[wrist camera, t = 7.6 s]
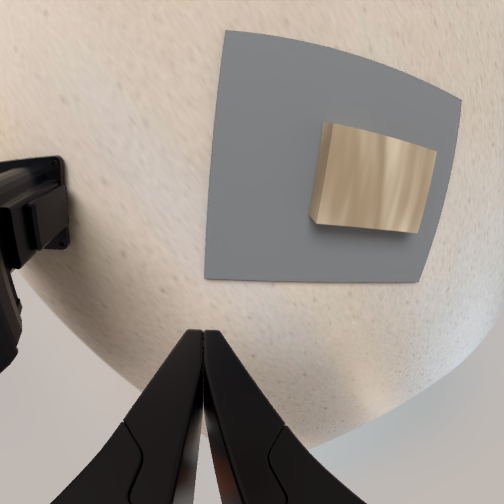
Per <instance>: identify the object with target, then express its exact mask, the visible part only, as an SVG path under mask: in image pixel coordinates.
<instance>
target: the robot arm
mask: <svg viewBox="0 0 504 504" xmlns="http://www.w3.org/2000/svg"><path fill="white" fill-rule="evenodd" d="M55 160H56V161H57V166H55V165H54V161H55ZM68 224H69V218H68V208H67V196H66V188H65V186H64V174H63V159H62V158H61V157H60V156H58V155H55V156H44V157H34V158H25V159H16V160H9V161H1V162H0V373H1V372H2V371H3V370H4V369H6V368H7V367H8V366H9V365H10V364H11V362H12V361H13V360H14V358H15V357H16V355H17V353H18V349H17V347H16V346H17V344H18V341H19V338H20V335H21V332H22V319H21V316H20V314H21V310H22V305H21V302H20V299H19V298H18V297H17V294H16V291H15V288H14V284H13V281H12V277H11V273H12V272H13V270H15V269H20V268H21V267H22V266H23V265H24V264H25V263H26V262H27V261H28V260H29V259H30V258H31V257H32V256H33V255H34V254H35V253H36V252H37V251H41V250H42V249H59V250H64V249H66V248H67V247H68V246H69V244H70V239H69V232H68ZM61 240H63V241H64V243H65V244H63V243H62V242H61ZM203 402H204V414H205V420H206V426H207V432H208V438H209V443H210V448H211V454H212V459H213V464H214V469H215V474H216V478H217V483H218V487H219V492H220V496H221V501H222V504H367V503H365V502H364V501H363V500H361V499H360V498H359V497H358V496H357V495H355V494H354V493H353V492H352V491H351V490H349V489H348V488H347V487H346V486H345V485H344V484H342V483H341V482H340V481H339V480H338V479H337V478H336V477H334V476H333V475H332V474H331V473H330V472H329V471H328V470H327V469H325V467H323V466H322V465H321V464H320V463H319V462H318V461H317V460H316V459H315V458H314V457H313V456H312V455H311V454H310V453H309V451H308V450H307V449H306V448H305V447H304V446H303V445H302V443H301V442H300V441H299V440H298V439H297V437H296V436H295V435H294V434H293V432H292V431H291V430H290V428H289V427H288V426H285V422H284V421H283V420H282V418H281V417H280V416H279V414H278V413H277V412H276V410H275V409H274V408H273V406H272V405H271V404H270V402H269V401H268V399H267V398H266V397H265V395H264V394H263V393H262V391H261V390H260V388H259V387H258V386H257V384H256V383H255V382H254V380H253V379H252V377H251V376H250V374H249V373H248V372H247V370H246V369H245V367H244V366H243V364H242V363H241V362H240V360H239V359H238V357H237V356H236V354H235V353H234V351H233V350H232V348H231V347H230V345H229V344H228V342H227V341H226V339H225V338H224V336H223V335H222V333H221V332H220V331H218V330H205V331H204V332H203V331H202V330H196V329H188V330H186V332H185V333H184V334H183V336H182V337H181V339H180V340H179V341H178V343H177V344H176V346H175V347H174V348H173V350H172V351H171V353H170V354H169V355H168V357H167V358H166V360H165V361H164V362H163V364H162V365H161V367H160V368H159V370H158V371H157V372H156V374H155V375H154V377H153V378H152V379H151V381H150V382H149V384H148V385H147V387H146V388H145V389H144V391H143V392H142V394H141V395H140V396H139V398H138V399H137V401H136V402H135V404H134V405H133V406H132V408H131V409H130V411H129V412H128V414H127V415H126V417H125V418H124V419H123V421H124V422H121V423H120V425H119V426H118V428H117V429H116V430H115V432H114V433H113V435H112V436H111V437H110V439H109V440H108V441H107V443H106V444H105V445H104V447H103V448H102V449H101V451H100V452H99V453H98V454H97V455H96V456H95V457H94V458H93V459H92V461H91V462H90V463H89V464H88V465H87V466H86V467H85V468H84V469H83V470H82V472H81V473H80V474H79V475H78V476H77V477H76V478H75V479H74V480H73V481H72V482H71V483H70V484H69V485H68V486H67V487H66V488H65V489H64V490H63V491H62V492H61V494H60V495H59V496H57V497H56V498H55V500H53V501H52V502H51V503H50V504H193V500H194V489H195V479H196V469H197V460H198V451H199V441H200V433H201V425H202V416H203Z"/></svg>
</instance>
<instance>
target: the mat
mask: <svg viewBox="0 0 504 504" xmlns="http://www.w3.org/2000/svg"><path fill="white" fill-rule="evenodd" d="M461 102H462V100H461V99H459V98H457V97H455V96H453V95H451V94H450V93H448V92H446V91H444V90H442V89H440V88H438V87H436V86H433V85H431V84H429V83H427V82H425V81H423V80H421V79H418V78H416V77H414V76H411V75H409V74H407V73H404V72H402V71H399V70H397V69H394V68H392V67H389V66H386V65H384V64H381V63H378V62H375V61H372V60H369V59H366V58H363V57H360V56H357V55H354V54H351V53H347V52H344V51H340V50H337V49H333V48H329V47H325V46H321V45H317V44H313V43H308V42H304V41H299V40H294V39H289V38H283V37H277V36H271V35H265V34H257V33H249V32H240V31H229V30H225V37H224V45H223V52H222V60H221V68H220V76H219V84H218V93H217V102H216V112H215V122H214V132H213V143H212V155H211V167H210V180H209V194H208V210H207V227H206V247H205V271H204V278H205V279H230V280H261V281H304V282H419V279H420V277H421V274H422V271H423V269H424V266H425V263H426V260H427V257H428V254H429V251H430V248H431V245H432V242H433V239H434V236H435V233H436V229H437V226H438V222H439V219H440V215H441V212H442V208H443V204H444V200H445V196H446V192H447V188H448V183H449V179H450V174H451V170H452V165H453V159H454V154H455V148H456V142H457V135H458V128H459V121H460V112H461ZM323 122H326V123H335V124H340V125H344V126H349V127H353V128H358V129H362V130H366V131H370V132H374V133H378V134H381V135H385V136H389V137H392V138H396V139H399V140H403V141H406V142H409V143H412V144H416V145H419V146H422V147H425V148H428V149H431V150H434V151H437V154H436V159H435V165H434V170H433V174H432V179H431V184H430V188H429V192H428V196H427V201H426V205H425V208H424V212H423V216H422V220H421V223H420V227H419V230H418V233H409V232H400V231H391V230H381V229H371V228H360V227H350V226H338V225H327V224H316V223H315V221H314V220H313V219H312V218H311V217H310V216H309V210H310V204H311V199H312V193H313V187H314V181H315V175H316V168H317V162H318V155H319V149H320V142H321V135H322V128H323Z"/></svg>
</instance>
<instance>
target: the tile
mask: <svg viewBox="0 0 504 504" xmlns="http://www.w3.org/2000/svg"><path fill="white" fill-rule="evenodd" d="M436 154H437V151H434V150H431V149H428V148H425V147H422V146H419V145H416V144H412V143H409V142H406V141H403V140H399V139H396V138H392V137H389V136H385V135H381V134H378V133H374V132H370V131H366V130H362V129H358V128H353V127H349V126H344V125H340V124H335V123H326V122H323V128H322V135H321V142H320V149H319V155H318V162H317V168H316V175H315V181H314V187H313V193H312V199H311V204H310V210H309V216H310V217H311V218H312V219H313V220H314V221H315V223H316V224H327V225H338V226H350V227H360V228H371V229H381V230H391V231H400V232H409V233H418V230H419V227H420V223H421V220H422V216H423V212H424V208H425V205H426V201H427V196H428V192H429V188H430V184H431V179H432V174H433V170H434V165H435V159H436Z"/></svg>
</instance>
